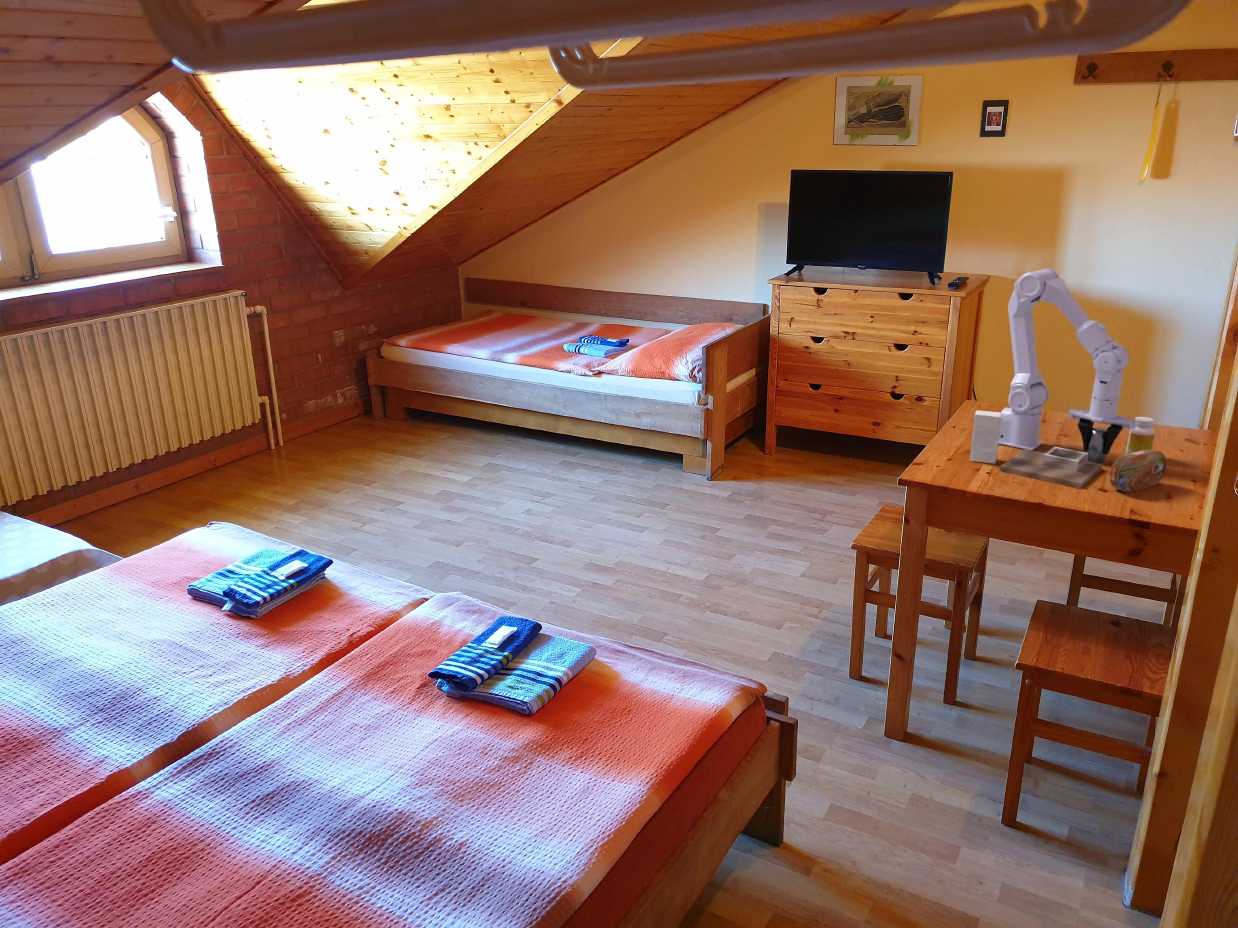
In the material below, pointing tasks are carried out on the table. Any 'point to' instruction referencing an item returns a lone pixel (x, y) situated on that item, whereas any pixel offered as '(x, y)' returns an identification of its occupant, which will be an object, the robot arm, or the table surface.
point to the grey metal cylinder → (1096, 445)
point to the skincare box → (985, 436)
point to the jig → (1053, 466)
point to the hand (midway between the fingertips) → (1096, 451)
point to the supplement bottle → (1141, 435)
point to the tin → (1137, 470)
